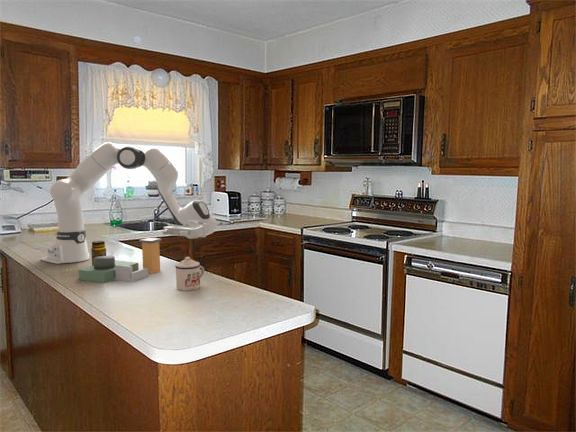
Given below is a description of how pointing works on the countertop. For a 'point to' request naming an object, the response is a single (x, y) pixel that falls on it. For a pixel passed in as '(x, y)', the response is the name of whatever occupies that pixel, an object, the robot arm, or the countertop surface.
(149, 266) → the gray-capped orange pillar
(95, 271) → the green base with knob
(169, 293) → the countertop surface
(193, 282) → the teacup with lid
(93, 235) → the countertop surface
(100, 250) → the condiment
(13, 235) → the countertop surface
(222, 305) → the countertop surface
